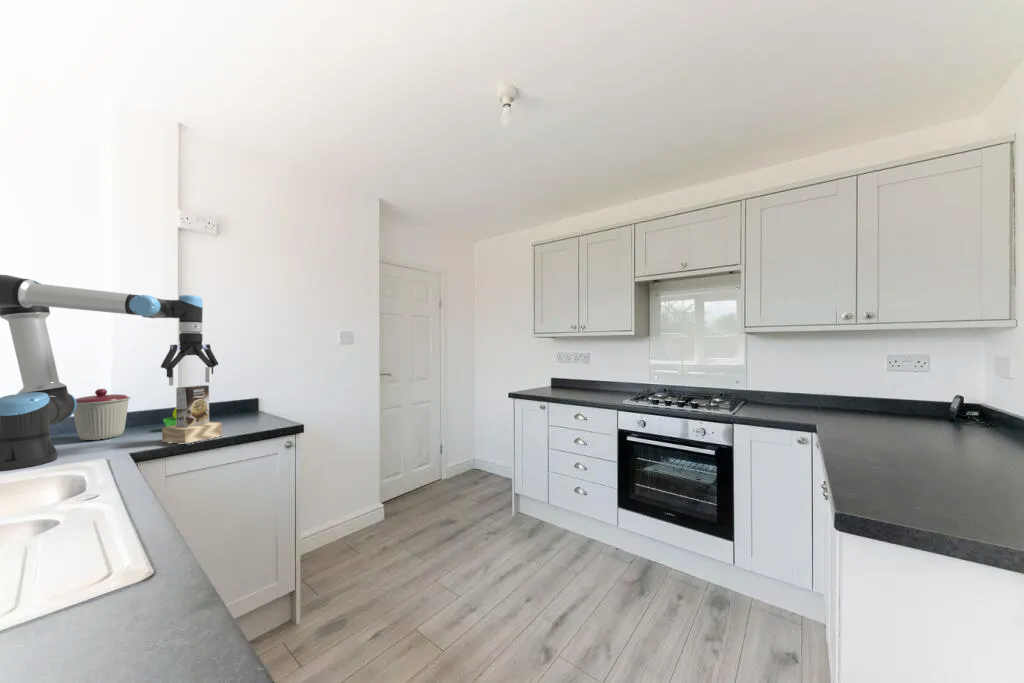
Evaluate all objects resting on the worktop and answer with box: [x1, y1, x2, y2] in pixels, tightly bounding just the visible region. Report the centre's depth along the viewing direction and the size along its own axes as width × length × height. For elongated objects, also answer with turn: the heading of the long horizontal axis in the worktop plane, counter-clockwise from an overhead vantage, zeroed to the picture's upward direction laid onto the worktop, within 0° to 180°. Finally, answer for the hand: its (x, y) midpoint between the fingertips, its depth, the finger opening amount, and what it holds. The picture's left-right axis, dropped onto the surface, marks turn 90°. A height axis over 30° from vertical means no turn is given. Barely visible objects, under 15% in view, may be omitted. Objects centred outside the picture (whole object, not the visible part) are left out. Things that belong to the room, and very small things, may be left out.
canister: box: [72, 388, 132, 441], centre depth 169 cm, size 18×18×21 cm
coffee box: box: [175, 385, 210, 427], centre depth 165 cm, size 9×6×16 cm
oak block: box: [161, 421, 223, 444], centre depth 164 cm, size 14×14×6 cm
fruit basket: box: [163, 407, 176, 427], centre depth 186 cm, size 11×9×11 cm
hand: (191, 384), depth 164 cm, fingers open, 13 cm apart
